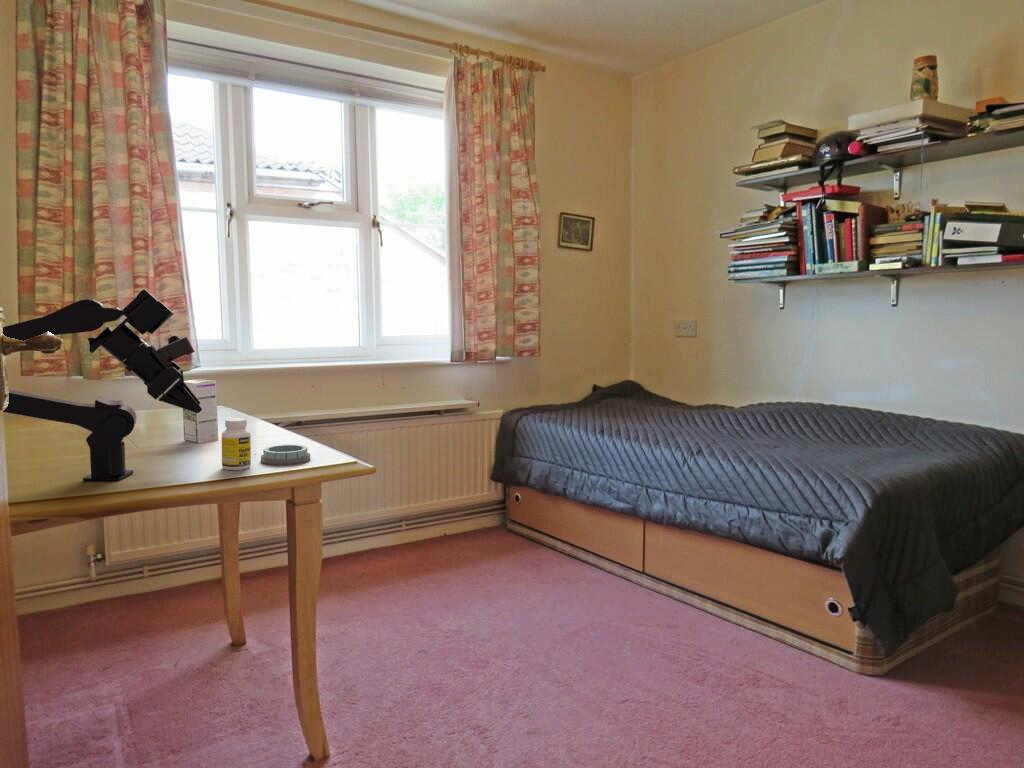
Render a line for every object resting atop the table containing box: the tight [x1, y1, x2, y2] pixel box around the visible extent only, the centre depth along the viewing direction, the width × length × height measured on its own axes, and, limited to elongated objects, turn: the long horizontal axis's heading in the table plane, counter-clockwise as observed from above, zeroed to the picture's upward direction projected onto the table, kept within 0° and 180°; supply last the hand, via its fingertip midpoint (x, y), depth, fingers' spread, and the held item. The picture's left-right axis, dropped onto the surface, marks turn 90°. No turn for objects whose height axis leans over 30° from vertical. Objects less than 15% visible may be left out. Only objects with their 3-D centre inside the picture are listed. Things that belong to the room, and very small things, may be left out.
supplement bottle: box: [221, 417, 252, 471], centre depth 143 cm, size 5×5×10 cm
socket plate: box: [260, 444, 311, 466], centre depth 151 cm, size 10×10×2 cm
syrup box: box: [182, 379, 219, 444], centre depth 170 cm, size 6×6×14 cm
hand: (199, 408), depth 139 cm, fingers open, 9 cm apart
